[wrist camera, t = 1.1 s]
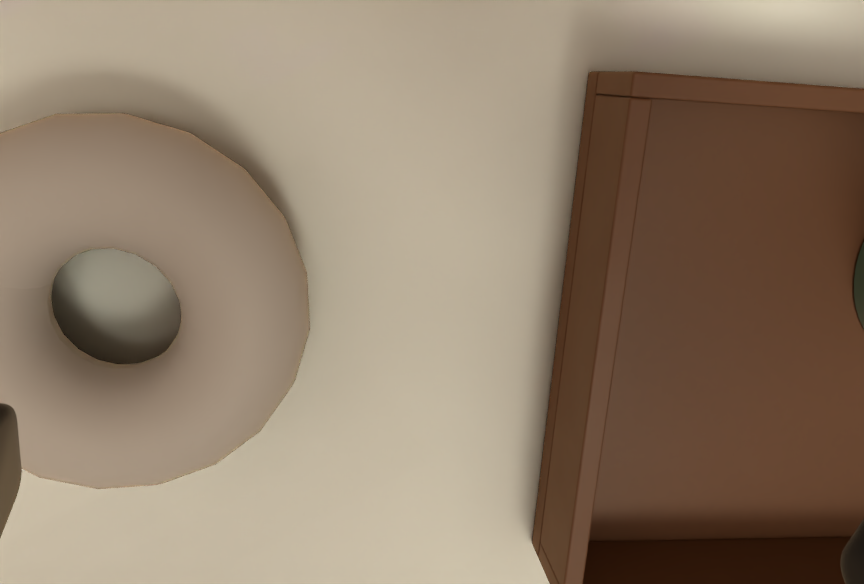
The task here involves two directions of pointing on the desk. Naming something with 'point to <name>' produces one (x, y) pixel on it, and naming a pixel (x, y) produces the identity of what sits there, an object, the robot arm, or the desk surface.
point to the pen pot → (859, 285)
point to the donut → (191, 280)
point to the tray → (708, 337)
